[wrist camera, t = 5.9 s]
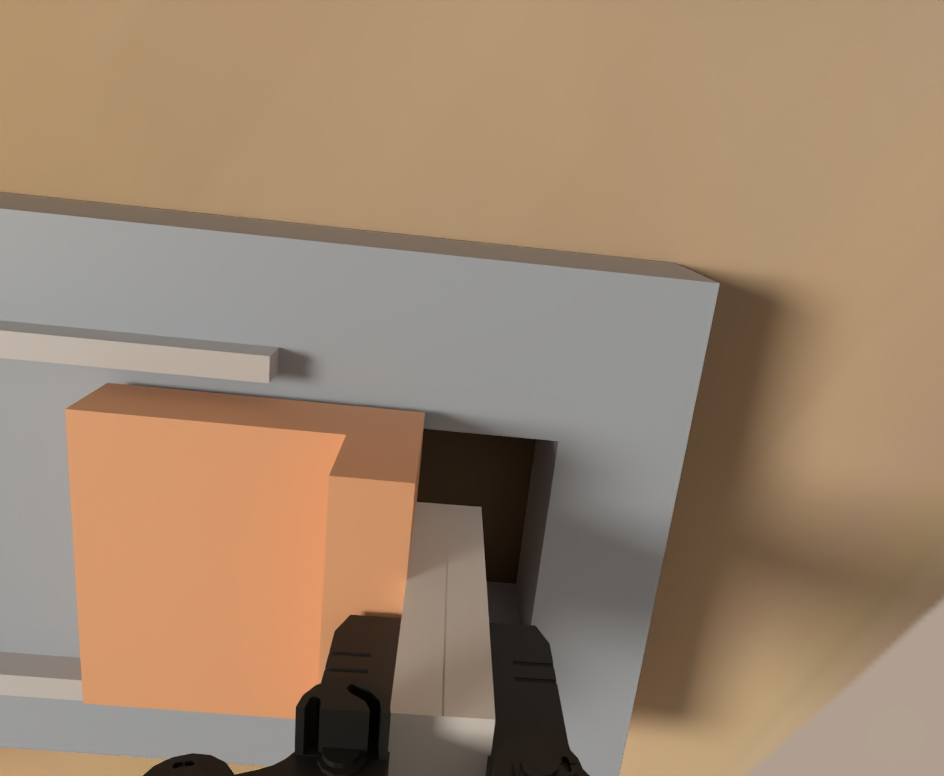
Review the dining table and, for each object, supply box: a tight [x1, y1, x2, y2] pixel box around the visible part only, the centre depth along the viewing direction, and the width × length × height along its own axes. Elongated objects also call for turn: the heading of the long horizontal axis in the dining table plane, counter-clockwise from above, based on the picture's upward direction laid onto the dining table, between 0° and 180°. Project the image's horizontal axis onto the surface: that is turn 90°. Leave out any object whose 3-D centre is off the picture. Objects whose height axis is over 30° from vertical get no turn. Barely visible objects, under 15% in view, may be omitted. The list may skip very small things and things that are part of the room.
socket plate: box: [0, 192, 720, 776], centre depth 19 cm, size 14×18×4 cm
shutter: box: [65, 383, 425, 719], centre depth 15 cm, size 7×7×4 cm
